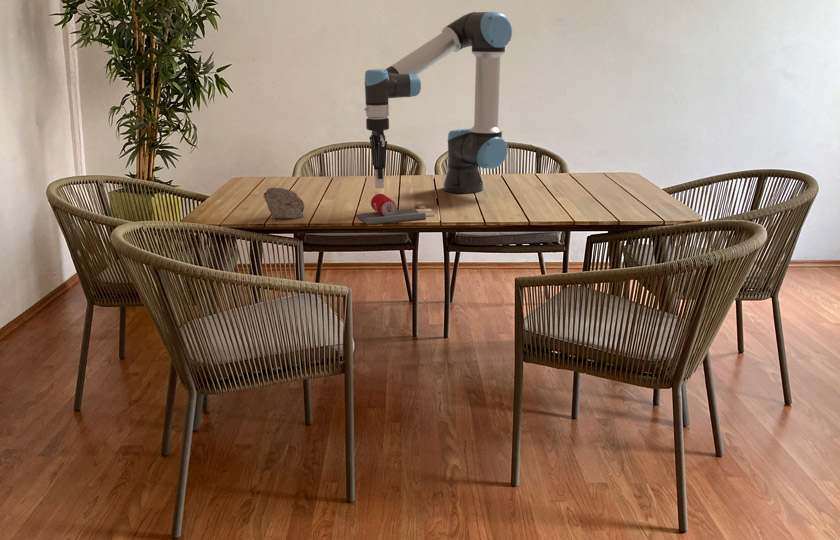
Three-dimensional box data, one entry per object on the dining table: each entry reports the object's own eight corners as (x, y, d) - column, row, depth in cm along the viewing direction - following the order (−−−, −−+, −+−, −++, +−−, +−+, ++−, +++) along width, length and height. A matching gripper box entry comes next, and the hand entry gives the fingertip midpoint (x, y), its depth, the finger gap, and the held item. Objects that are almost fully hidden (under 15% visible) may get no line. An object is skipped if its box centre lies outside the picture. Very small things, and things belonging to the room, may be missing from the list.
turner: (411, 205, 282) (411, 202, 281) (425, 204, 283) (425, 201, 282) (419, 216, 266) (419, 213, 265) (434, 216, 267) (434, 212, 266)
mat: (412, 209, 276) (411, 204, 275) (425, 219, 263) (425, 213, 262) (356, 215, 269) (355, 209, 269) (367, 224, 257) (367, 218, 256)
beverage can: (370, 211, 273) (380, 219, 262) (369, 194, 271) (379, 201, 260) (388, 210, 275) (398, 217, 264) (387, 192, 273) (398, 199, 262)
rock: (298, 193, 275) (307, 189, 268) (298, 222, 274) (307, 219, 267) (260, 189, 268) (268, 185, 261) (259, 219, 267) (267, 216, 260)
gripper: (361, 116, 268) (363, 185, 275) (371, 120, 256) (374, 192, 263) (382, 114, 270) (384, 183, 278) (394, 119, 259) (395, 190, 266)
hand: (379, 187), depth 271 cm, fingers closed
